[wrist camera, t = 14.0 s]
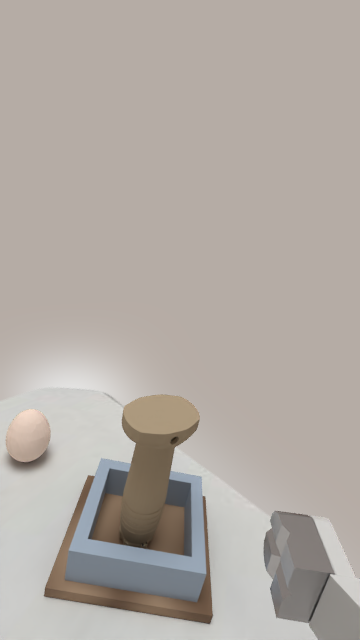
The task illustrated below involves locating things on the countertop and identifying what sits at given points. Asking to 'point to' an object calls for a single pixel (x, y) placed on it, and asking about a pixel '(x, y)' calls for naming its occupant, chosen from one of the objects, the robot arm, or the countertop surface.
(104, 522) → the board
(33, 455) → the egg
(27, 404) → the countertop surface
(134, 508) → the handle
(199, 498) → the square frame
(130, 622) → the countertop surface
